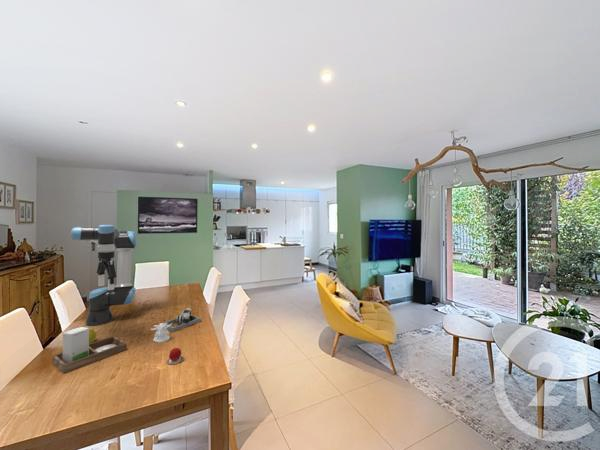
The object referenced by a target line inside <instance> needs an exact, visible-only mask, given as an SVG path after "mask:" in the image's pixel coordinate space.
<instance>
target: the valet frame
mask: <svg viewBox="0 0 600 450" xmlns="http://www.w3.org/2000/svg"><path fill="white" fill-rule="evenodd" d="M201 319H202V318H201V317H198V316H196V315H192V314H191V315H190V321H189V322H188V323H184V324H182V323H181V324H177V317H176V318H173V319H170V320H167V321H164V322H163V323H164V324H165V323H167V325H170V324H172V325H173V324H175V323H176V324H177V325H176V326H172V325H171V326H170V327H168V328H167V329H166V330H167V331H168V332H172V333H174V332H176V331H180V330H182V329H185V328H187V327H190V326H192V325H195V324H198V323H200V322H201ZM187 325H188V326H187Z"/></svg>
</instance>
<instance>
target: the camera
mask: <svg viewBox="0 0 600 450" xmlns="http://www.w3.org/2000/svg"><path fill="white" fill-rule="evenodd" d="M190 315H192V309H191V308H189V307H187V308H186V309H183V310H182V312H181V314H177V316H176V318H177V322H176V324H177V325H181V324H184V323H188V322H189V321H191V319H190ZM187 327H189V326H188V325H187Z"/></svg>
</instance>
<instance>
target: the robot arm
mask: <svg viewBox="0 0 600 450" xmlns="http://www.w3.org/2000/svg"><path fill="white" fill-rule="evenodd" d="M70 231H71V232H70V237H71V239H72V240H74V241H87V242H91V243H94V244H96V245H97V246H96V248H97V251H98V252H97V259H98V263H97V264H98V265H97V270H96V274H97V275H98V280H97V281H98V287H100V288H96V289H94V290H91V291H90V292H89V296H88V314H87V316H86V319H85V325H86V326H91V327H93V326H100V325H104V324H105V325H106V324H107V323H110V322H112V321H113V319H114V318H113V317H114V316H113V313H112V310H111V307H113V306H122V305H123V306H125V305H130V304H132V303H133V302H134V299H135V295H136V287H134V284H133V283H132V264H133V263H132V260H133V251H135V247H137V246H138V237H137V235H136V232H135V231H131V230H130V231H129V230H124V231H123V230H122V231H120V229H119V228H117V227H115V225H113V224H100V225H98V226H97V227H90V226H89V227H86V226H85V227H84V226H83V227H82V226H81V227H80V226H79V227H73V228H72V229H71V230H70ZM115 250H116V251H117V264H116V266H117V267H116V268H117V270H116V268H115V261H114V260H112V259H114V258H115ZM105 271H106V273H107V276H108V277H107V287H104V286H105V274H106V273H105ZM115 278H116V284H115ZM102 286H103V287H102Z"/></svg>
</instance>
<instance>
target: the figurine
mask: <svg viewBox="0 0 600 450" xmlns="http://www.w3.org/2000/svg"><path fill="white" fill-rule="evenodd" d="M172 325H173V324H170V325H167V323H165V324H164V322H160V323H159V324H155V325H153V328H150V330H151V331H155V332H154V333H153V335H154V338H153V339H152V341H153V342H155V343H156V344H162V343H165V342H167V341H169V340H170V338H171V337H170V335H169V333H170V331H169V330H166V329H167V328H168V327H170V326H171V327H172Z"/></svg>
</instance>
